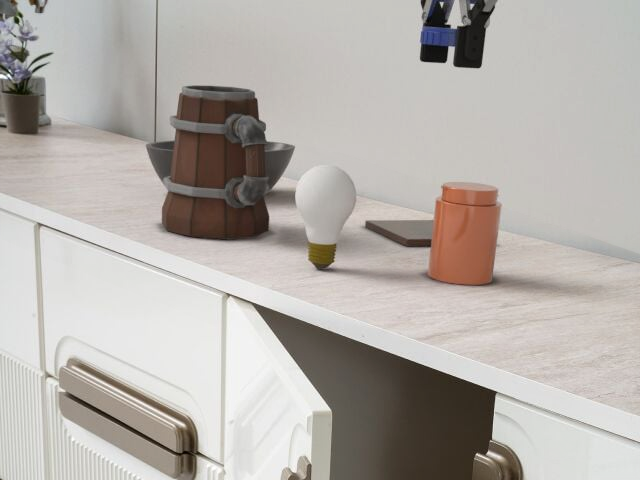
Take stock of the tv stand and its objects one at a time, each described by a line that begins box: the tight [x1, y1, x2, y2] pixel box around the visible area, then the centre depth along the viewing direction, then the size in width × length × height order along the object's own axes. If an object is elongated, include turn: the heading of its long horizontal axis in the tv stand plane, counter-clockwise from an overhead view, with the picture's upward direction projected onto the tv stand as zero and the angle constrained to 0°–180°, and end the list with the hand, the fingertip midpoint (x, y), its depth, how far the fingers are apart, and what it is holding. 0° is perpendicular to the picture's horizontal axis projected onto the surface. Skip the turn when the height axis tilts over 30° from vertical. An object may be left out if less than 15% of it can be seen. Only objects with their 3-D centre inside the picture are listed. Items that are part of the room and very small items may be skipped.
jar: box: [427, 181, 503, 286], centre depth 110 cm, size 6×6×9 cm
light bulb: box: [294, 164, 357, 270], centre depth 109 cm, size 6×6×10 cm
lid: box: [419, 25, 457, 48], centre depth 120 cm, size 7×7×2 cm
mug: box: [161, 84, 270, 240], centre depth 122 cm, size 16×12×15 cm
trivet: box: [364, 219, 434, 247], centre depth 131 cm, size 11×11×1 cm
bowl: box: [145, 139, 296, 196], centre depth 148 cm, size 12×22×6 cm, turn 130°
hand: (449, 63), depth 121 cm, fingers closed on lid, 6 cm apart
